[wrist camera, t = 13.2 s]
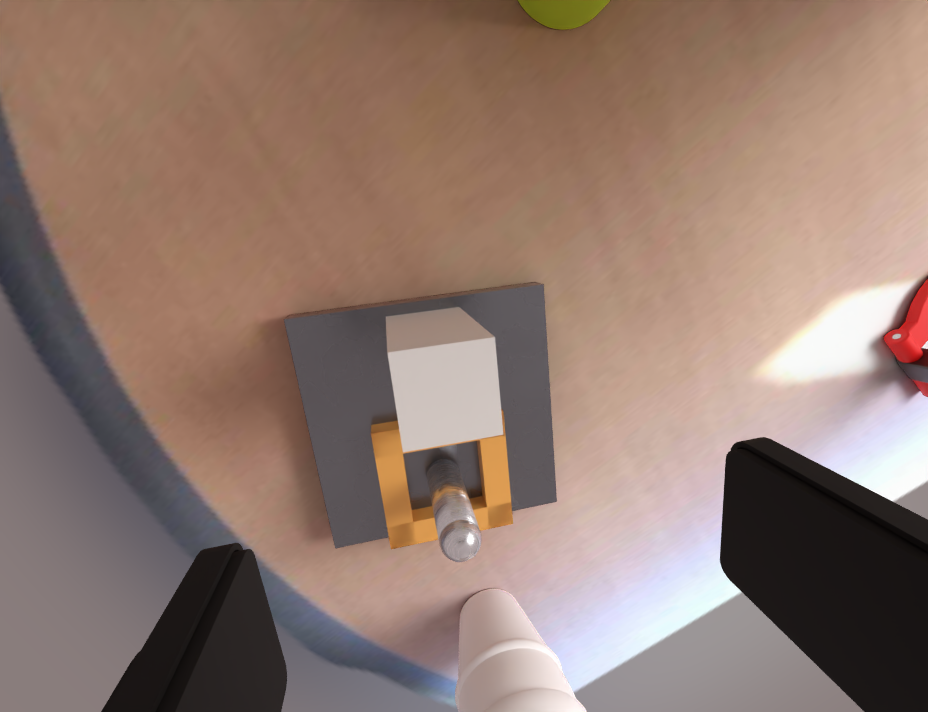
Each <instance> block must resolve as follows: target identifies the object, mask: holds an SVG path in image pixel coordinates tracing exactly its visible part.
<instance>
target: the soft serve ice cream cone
mask: <svg viewBox="0 0 928 712" xmlns="http://www.w3.org/2000/svg"><path fill="white" fill-rule="evenodd" d="M455 701H456V704H457V708H458V711H459V712H587V711H586V709H585V708H584V707H583V705H582V704H581V703H580V702H579V701H578V700H577V699H576V697H575V695H574V693H573V691H572V689H571V687H570V685H569V683H568V681H567V679H566V677H565V676H564V674H563V672H562V666H561V663H560V661H559V659H558V657H557V656H556V655H555V653H554V652H553V651H552V650H551V649H550V648H549V647H547V645H546V644H545V642H544V641H543V639H542V638H541V636H540V635H539V634H538V632H537V631H536V629H535V628H534V626H533V625H532V623H531V622H530V620H529V619H528V617H527V616H526V614H525V613H524V611H523V610H522V608H521V607H520V605H519V604H518V602H517V601H516V599H515V598H514V597H513V596H512V595H511V594H510V593H508V592H506V591H504V590H501V589H487V590H483V591H480V592H478V593H476V594H475V595H473V596H472V597H471V598H470V599H468V600H467V602H466V603H465V604H464V606H463V608H462V610H461V613H460V624H459V668H458V681H457V685H456V690H455Z"/></svg>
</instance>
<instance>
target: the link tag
mask: <svg viewBox="0 0 928 712" xmlns="http://www.w3.org/2000/svg"><path fill="white" fill-rule="evenodd" d="M386 335H387V353H388V360H389V366H390V373H391V379H392V386H393V392H394V398H395V405H396V411H397V418H398V421H392V422H386V423H380V424H374V425H371V438H372V444H373V449H374V455H375V461H376V466H377V472H378V478H379V484H380V489H381V495H382V501H383V506H384V512H385V518H386V524H387V529H388V535H389V541H390V546H391V549H395V548H399V547H404V546H409V545H414V544H418V543H423V542H428V541H433V540H438V534H437V529H436V524H435V519H434V513H433V508H432V506H430V507H425V508H420V509H415V510H412V508H411V502H410V495H409V489H408V482H407V476H406V469H405V463H404V457H403V454H405V453H410V452H416V451H421V450H427V449H433V448H438V447H444V446H450V445H455V444H461V443H466V442H472V441H477V448H478V458H479V468H480V477H481V487H482V496H480V497H475V498H470V499H469V500H470V503H471V506H472V509H473V512H474V515H475V518H476V520H477V523H478V526H479V529H480V531H481V530H486V529H490V528H495V527H500V526H505V525H510V524H513V518H512V506H511V494H510V482H509V470H508V459H507V447H506V435H505V423H504V412H503V410H502V409H501V401H500V390H499V378H498V367H497V355H496V343H495V337H494V336H493V335H492V334H491V333H490V332H488V331H487V330H486V329H485V328H484V327H482V326H481V325H480V324H479V323H478V322H476V321H475V320H474V319H473V318H472V317H470V316H469V315H468V314H467V313H466V312H465V311H463V310H462V309H461V308H460V307H455V308H447V309H439V310H432V311H424V312H417V313H409V314H401V315H394V316H386Z"/></svg>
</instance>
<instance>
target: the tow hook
mask: <svg viewBox="0 0 928 712" xmlns="http://www.w3.org/2000/svg"><path fill="white" fill-rule="evenodd" d="M884 341H885V342H886V344H887V345H888V347H889V348H890V349H891V351H892V352H893V353H894V355H895V356H896V361H897V362H898V363H899V365H900V366H901V368H902V369H903V370H904V372H905V373H906V374H907V376H908V377H909V378H910V379H912V380H913V381H914V383H915V384H916V385H917V387H918V388H919V390H920V391H921V392H922V394H923V395H924V396H926V397H928V349H924V348H921V347H922V346H923V345H924V344H925V343H926V342H927V341H928V279H927V280H926V281H925V283H924V284H923V285H922V286H921V287H920V289H919V290H918V292H917V294H916V296H915V297H914V299H913V301H912V303H911V305H910V308H909V311H908V314H907V317H906V321H905V322H904V323H903V325H902V326H901V327H900V328H899V329H895V330H892V331H890V332H888V333H887V334H886V335H885V336H884Z"/></svg>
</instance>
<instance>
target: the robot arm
mask: <svg viewBox="0 0 928 712" xmlns="http://www.w3.org/2000/svg"><path fill="white" fill-rule="evenodd" d="M720 563H721V566H722V569H723V571H724V573H725V574H726V576H727V577H728V578H729V580H730V581H731V582H732V583H733V584H734V585H735V586H736V587H738V588H739V589H740V590H741V591H742V592H743V593H744V594H745V595H746V596H747V597H748V598H749V599H750V600H751V601H752V602H753V603H754V604H755V605H756V606H757V607H758V608H759V609H760V610H761V611H762V612H763V613H764V614H765V615H766V616H767V617H768V618H769V619H770V620H771V621H772V622H773V623H774V624H775V625H776V626H777V627H778V628H779V629H780V630H782V631H783V632H784V633H785V634H786V635H787V636H788V637H789V638H790V639H791V640H792V641H793V642H794V643H795V644H796V645H797V646H798V647H799V648H800V649H801V650H802V651H803V652H804V653H805V654H806V655H807V656H808V657H809V658H810V659H811V660H812V661H813V662H814V663H815V664H816V665H817V666H818V667H819V668H820V669H821V670H822V671H823V672H824V673H825V674H826V675H827V676H829V677H830V678H831V679H832V680H833V681H834V682H835V683H836V684H837V685H838V686H839V687H840V688H841V689H842V690H843V691H844V692H845V693H846V694H847V695H848V696H849V697H850V698H851V699H852V700H853V701H854V702H855V703H856V704H857V705H858V706H859V707H860V708H861V709H862V710H863V711H864V712H928V520H927V519H925V518H923V517H921V516H920V515H918V514H916V513H914V512H912V511H910V510H908V509H906V508H904V507H902V506H900V505H898V504H896V503H894V502H892V501H890V500H888V499H886V498H884V497H882V496H880V495H879V494H877V493H875V492H873V491H871V490H869V489H867V488H865V487H863V486H861V485H859V484H857V483H855V482H853V481H851V480H849V479H847V478H845V477H843V476H841V475H839V474H837V473H836V472H834V471H832V470H830V469H828V468H826V467H824V466H822V465H820V464H818V463H816V462H814V461H812V460H810V459H808V458H806V457H804V456H802V455H800V454H798V453H796V452H795V451H793V450H791V449H789V448H787V447H785V446H783V445H781V444H779V443H777V442H775V441H773V440H771V439H768V438H765V437H762V438H756V439H751V440H746V441H741V442H737V443H735V444H734V445H733V446H732V448H731V451H730V452H728V454H727V456H726V465H725V482H724V499H723V516H722V533H721V550H720ZM286 684H287V671H286V664H285V660H284V656H283V653H282V650H281V646H280V642H279V639H278V636H277V632H276V628H275V625H274V621H273V618H272V614H271V611H270V607H269V604H268V600H267V597H266V593H265V590H264V586H263V583H262V579H261V576H260V572H259V569H258V565H257V562H256V558H255V555H254V553H253V551H252V550H251V549H247V550H243V548H242V546H241V545H240V544H239V543H233V544H228V545H223V546H218V547H213V548H208V549H204V550H202V551H200V552H199V554H198V555H197V556H196V558H195V560H194V562H193V563H192V565H191V567H190V568H189V570H188V572H187V573H186V575H185V577H184V578H183V580H182V582H181V584H180V585H179V587H178V589H177V590H176V592H175V594H174V595H173V597H172V599H171V601H170V602H169V604H168V606H167V607H166V609H165V611H164V612H163V614H162V616H161V617H160V619H159V621H158V622H157V624H156V626H155V628H154V629H153V631H152V633H151V634H150V636H149V638H148V639H147V641H146V643H145V644H144V646H143V648H142V650H141V651H140V652H139V653H138V654H137V655H136V656H135V658H134V659H133V660H132V662H131V663H130V665H129V666H128V668H127V670H126V671H125V673H124V675H123V676H122V678H121V680H120V681H119V683H118V685H117V686H116V688H115V690H114V691H113V693H112V695H111V696H110V698H109V700H108V701H107V703H106V705H105V706H104V708H103V710H102V711H101V712H281V709H282V704H283V700H284V695H285V691H286Z"/></svg>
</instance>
